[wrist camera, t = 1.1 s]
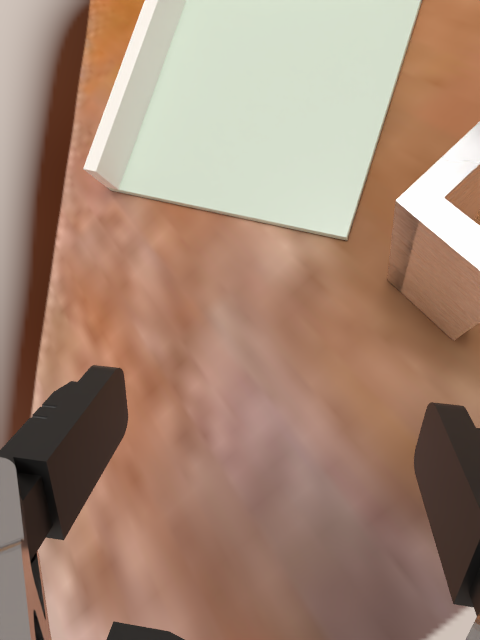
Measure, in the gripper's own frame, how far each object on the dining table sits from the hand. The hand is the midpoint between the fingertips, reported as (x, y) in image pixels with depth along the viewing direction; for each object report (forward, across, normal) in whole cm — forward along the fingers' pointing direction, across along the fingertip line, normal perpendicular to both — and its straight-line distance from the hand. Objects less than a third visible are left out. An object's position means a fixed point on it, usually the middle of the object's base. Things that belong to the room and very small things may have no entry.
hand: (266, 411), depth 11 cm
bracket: (+18, -10, +2) cm, 21 cm away
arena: (+28, +4, -8) cm, 30 cm away
